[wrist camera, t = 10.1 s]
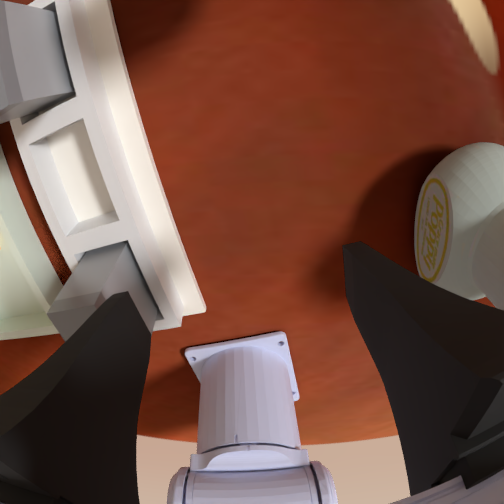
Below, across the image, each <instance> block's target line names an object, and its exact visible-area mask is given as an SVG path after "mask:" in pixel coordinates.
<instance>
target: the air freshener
mask: <svg viewBox="0 0 504 504" xmlns="http://www.w3.org/2000/svg"><path fill="white" fill-rule="evenodd" d="M414 247H415V258H416V264H417V269H418V272H419V275H420V277H421V278H423V279H425V280H427V281H429V282H430V283H432V284H435V285H437V286H439V287H441V288H443V289H445V290H448V291H450V292H452V293H454V294H457V295H459V296H462V297H464V298H467V299H470V300H476V299H480V298H483V297H486V296H487V298H488V299H489V300H490V301H491V302H492V303H493V305H494V306H495V307H496V308H497V309H501V310H504V146H501V145H498V144H495V143H485V142H479V143H474V144H469V145H466V146H464V147H461V148H459V149H457V150H455V151H454V152H452V153H451V154H449V155H448V156H446V157H445V158H444V159H443V160H442V161H441V162H440V163H439V164H437V165H436V167H435V168H434V169H433V170H432V172H431V173H430V174H429V175H428V177H427V178H426V180H425V182H424V184H423V186H422V188H421V191H420V195H419V198H418V203H417V208H416V216H415V228H414Z"/></svg>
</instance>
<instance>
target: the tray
mask: <svg viewBox="0 0 504 504" xmlns="http://www.w3.org/2000/svg"><path fill="white" fill-rule="evenodd" d="M0 248H1V249H0V340H8V339H17V338H25V337H34V336H42V335H50V334H58V333H59V332H58V330H57V329H56V327H55V326H54V325H53V323H52V322H51V320H50V319H49V317H48V315H47V312H48V310H49V309H50V307H51V305H52V304H53V302H54V300H55V299H56V297H57V296H58V294H59V293H60V291H61V289H62V288H63V284H62V283H61V281H60V279H59V277H58V275H57V274H56V272H55V270H54V268H53V266H52V264H51V262H50V260H49V259H48V257H47V255H46V253H45V251H44V249H43V247H42V245H41V243H40V241H39V239H38V236H37V234H36V232H35V230H34V228H33V226H32V224H31V221H30V219H29V217H28V215H27V212H26V210H25V208H24V206H23V203H22V201H21V198H20V196H19V194H18V191H17V189H16V186H15V183H14V181H13V178H12V176H11V173H10V170H9V167H8V165H7V162H6V159H5V156H4V153H3V150H2V147H1V144H0Z"/></svg>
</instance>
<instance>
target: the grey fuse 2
mask: <svg viewBox="0 0 504 504" xmlns="http://www.w3.org/2000/svg"><path fill="white" fill-rule="evenodd" d="M126 291H128V292H129V294H130V296H131V298H132V300H133V302H134V303H135V305H136V307H137V309H138V311H139V313H140V315H141V317H142V318H143V320H144V322H145V324H146V326H147V327H148V329H149V331H150V333H151V335H152V332H153V328H154V324H155V320H156V316H157V312H158V309H159V307H158V305H157V303H156V301H155V299H154V297H153V295H152V293H151V290H150V288H149V286H148V284H147V282H146V280H145V278H144V275H143V273H142V271H141V269H140V267H139V265H138V262H137V260H136V258H135V256H134V253H133V251H132V249H131V246H130V244H129V242H128V240H126V241H122V242H118V243H114V244H111V245H107V246H103V247H100V248H96V249H92V250H89V251H87V252H86V254H85V255H84V257H83V258H82V259H81V261H80V262H79V264H78V265H77V267H76V268H75V270H74V271H73V273H72V274H71V276H70V277H69V279H68V280H67V282H66V283H65V285H64V286H63V288H62V289H61V291H60V293H59V294H58V296H57V297H56V299H55V300H54V302H53V304H52V305H51V307H50V309H49V310H48V312H47V315H48V317H49V319H50V320H51V322H52V323H53V325H54V326H55V327H56V329H57V330H58V332H59V333H60V335H61V336H62V338H63V339H64V340H65V342H66V341H67V340H68V339H69V338H70V337H71V336H72V335H73V334H74V333H75V332H76V331H77V330H78V328H79V327H80V326H81V325H82V324H83V323H84V322H85V321H86V320H87V319H88V318H89V317H90V316H91V315H92V314H93V313H94V312H95V311H96V310H97V309H98V308H99V307H100V306H101V305H102V304H103V303H104V302H105V301H106V300H107V299H108V298H109V297H110V296H112V295H113V294H116V293H121V292H126Z"/></svg>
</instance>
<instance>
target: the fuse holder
mask: <svg viewBox="0 0 504 504" xmlns="http://www.w3.org/2000/svg"><path fill="white" fill-rule="evenodd" d="M28 6H32V7H37V8H41V9H45V10H49V11H53V12H57V16H58V21H59V26H60V31H61V36H62V40H63V45H64V49H65V53H66V58H67V62H68V66H69V70H70V74H71V78H72V81H73V85H74V89H75V92H76V94H75V95H73V96H71V97H69V98H67V99H65V100H63V101H61V102H59V103H57V104H55V105H53V106H51V107H49V108H47V109H45V110H43V111H40V112H36V113H33V114H29V115H26V116H23V117H19V118H16V119H13V120H10V124H11V128H12V131H13V134H14V137H15V140H16V143H17V147H18V150H19V152H20V155H21V158H22V161H23V164H24V167H25V169H26V172H27V175H28V177H29V180H30V183H31V185H32V188H33V190H34V193H35V195H36V198H37V200H38V202H39V205H40V207H41V209H42V212H43V214H44V216H45V219H46V221H47V223H48V225H49V227H50V230H51V232H52V234H53V236H54V238H55V240H56V242H57V244H58V246H59V248H60V250H61V252H62V254H63V256H64V258H65V260H66V262H67V264H68V266H69V268H70V270H71V272H72V273H73V271H74V270H75V268H76V267H77V265H78V264H79V262H80V261H81V259H82V258H83V257H84V255H85V254H86V252H87V251H89V250H92V249H96V248H100V247H103V246H107V245H111V244H114V243H118V242H122V241H126V240H128V242H129V244H130V246H131V249H132V251H133V253H134V256H135V258H136V260H137V262H138V265H139V267H140V269H141V271H142V273H143V275H144V278H145V280H146V282H147V284H148V286H149V288H150V290H151V293H152V295H153V297H154V299H155V301H156V303H157V305H158V307H159V309H158V312H157V316H156V320H155V324H154V328H153V331H156V330H163V329H169V328H175V327H181V322H182V316H187V315H192V314H198V313H203V312H206V305H205V302H204V300H203V297H202V294H201V292H200V289H199V287H198V284H197V282H196V279H195V276H194V274H193V271H192V268H191V266H190V263H189V260H188V258H187V255H186V252H185V250H184V247H183V244H182V241H181V239H180V236H179V233H178V230H177V227H176V225H175V222H174V219H173V216H172V213H171V210H170V207H169V205H168V202H167V199H166V196H165V193H164V190H163V187H162V184H161V181H160V178H159V175H158V172H157V169H156V166H155V162H154V159H153V156H152V153H151V150H150V147H149V143H148V140H147V137H146V134H145V130H144V127H143V124H142V120H141V117H140V114H139V110H138V107H137V103H136V100H135V96H134V93H133V89H132V86H131V82H130V78H129V75H128V71H127V67H126V64H125V60H124V56H123V52H122V48H121V44H120V40H119V36H118V32H117V28H116V24H115V19H114V15H113V11H112V6H111V2H110V0H35V1H33V2H32V3H30V4H29V5H28Z"/></svg>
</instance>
